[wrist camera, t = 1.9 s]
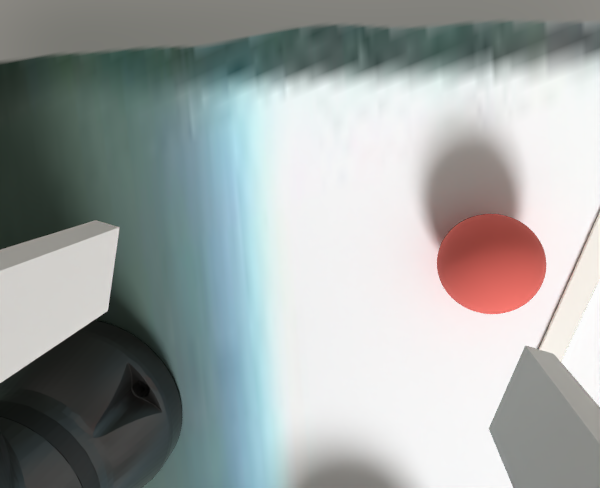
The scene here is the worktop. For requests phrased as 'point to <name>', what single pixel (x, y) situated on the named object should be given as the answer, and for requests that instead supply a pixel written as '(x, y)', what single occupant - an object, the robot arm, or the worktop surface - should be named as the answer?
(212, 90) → the worktop surface
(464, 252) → the ball
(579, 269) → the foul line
